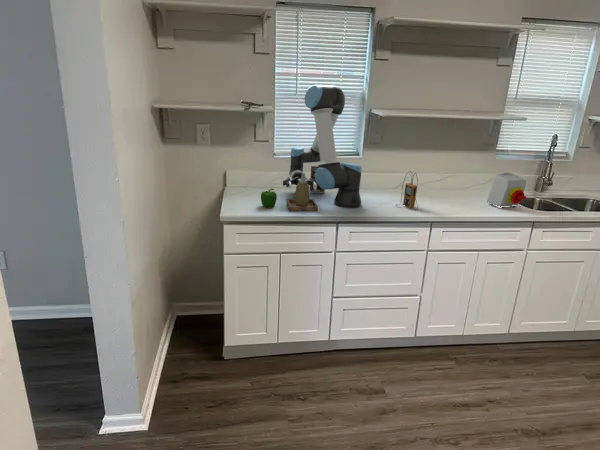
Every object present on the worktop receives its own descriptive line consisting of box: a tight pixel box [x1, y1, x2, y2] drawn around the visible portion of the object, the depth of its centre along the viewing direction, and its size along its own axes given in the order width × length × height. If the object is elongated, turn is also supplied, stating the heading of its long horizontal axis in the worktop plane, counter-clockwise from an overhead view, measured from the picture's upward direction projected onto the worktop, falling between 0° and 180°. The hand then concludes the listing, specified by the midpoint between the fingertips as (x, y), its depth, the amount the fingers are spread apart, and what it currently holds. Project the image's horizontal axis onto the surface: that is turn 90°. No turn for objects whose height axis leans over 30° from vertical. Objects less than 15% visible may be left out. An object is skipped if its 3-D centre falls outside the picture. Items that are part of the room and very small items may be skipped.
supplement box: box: [309, 165, 326, 194], centre depth 255 cm, size 9×5×16 cm, turn 104°
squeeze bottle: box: [294, 172, 310, 206], centre depth 222 cm, size 8×8×18 cm
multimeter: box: [400, 170, 419, 211], centre depth 232 cm, size 15×10×20 cm
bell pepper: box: [260, 187, 278, 209], centre depth 221 cm, size 8×8×10 cm
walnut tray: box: [285, 198, 319, 213], centre depth 225 cm, size 15×15×2 cm
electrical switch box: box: [486, 171, 527, 207], centre depth 243 cm, size 15×15×20 cm
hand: (303, 187), depth 218 cm, fingers open, 12 cm apart
